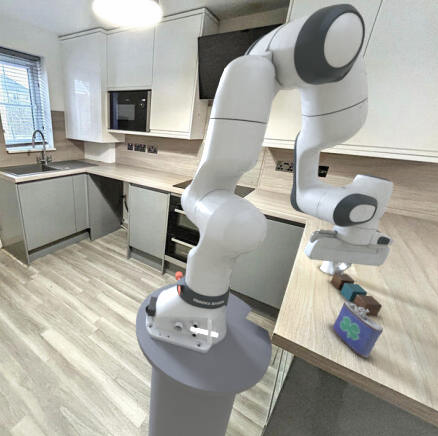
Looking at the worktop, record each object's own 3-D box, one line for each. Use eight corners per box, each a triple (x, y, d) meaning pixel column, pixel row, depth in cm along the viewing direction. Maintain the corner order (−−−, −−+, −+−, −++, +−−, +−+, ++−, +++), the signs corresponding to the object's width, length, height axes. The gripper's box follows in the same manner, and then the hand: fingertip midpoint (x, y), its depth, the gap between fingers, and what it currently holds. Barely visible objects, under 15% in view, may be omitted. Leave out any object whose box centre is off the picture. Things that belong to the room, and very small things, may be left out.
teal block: (348, 301, 72) (353, 291, 71) (340, 293, 76) (344, 282, 75) (362, 303, 72) (367, 292, 70) (353, 294, 76) (358, 284, 74)
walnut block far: (337, 289, 78) (341, 279, 76) (330, 282, 81) (334, 272, 80) (350, 291, 77) (355, 281, 76) (342, 283, 81) (346, 273, 79)
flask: (370, 358, 55) (389, 323, 51) (359, 359, 54) (377, 324, 50) (338, 326, 63) (352, 294, 59) (328, 327, 63) (341, 295, 59)
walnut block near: (361, 314, 67) (366, 303, 66) (351, 304, 71) (356, 294, 70) (376, 316, 67) (382, 305, 65) (366, 306, 71) (371, 295, 69)
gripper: (319, 233, 64) (304, 275, 70) (401, 241, 62) (379, 283, 68) (307, 224, 70) (294, 263, 75) (382, 231, 68) (363, 271, 73)
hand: (335, 273), depth 71 cm, fingers closed
